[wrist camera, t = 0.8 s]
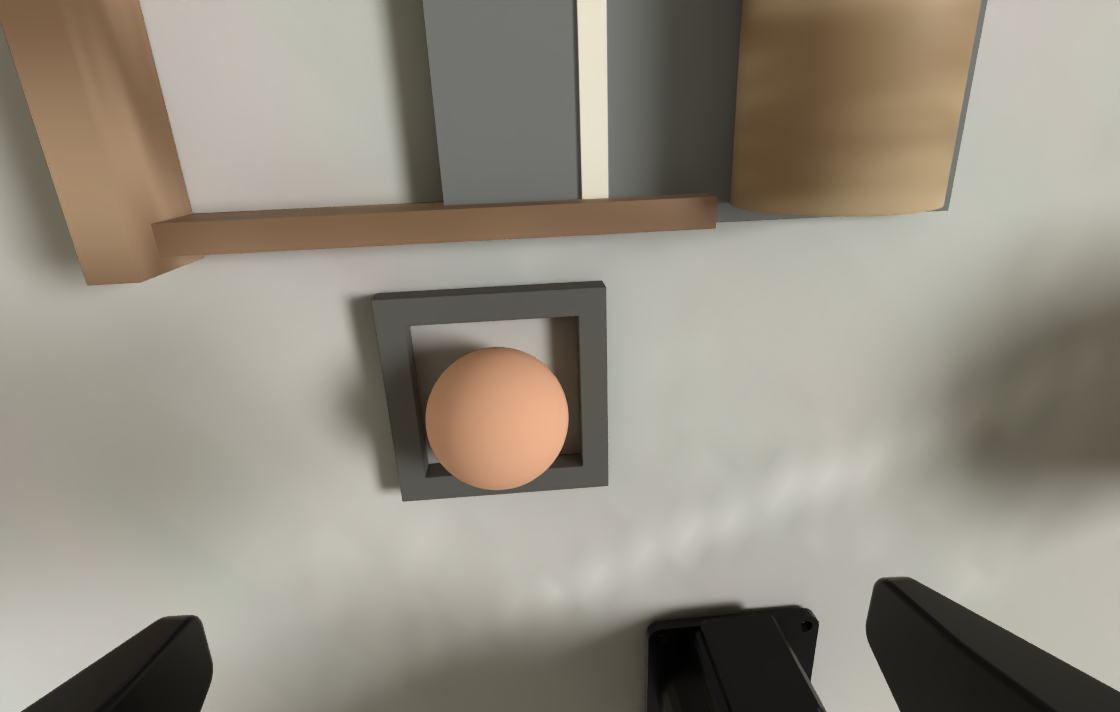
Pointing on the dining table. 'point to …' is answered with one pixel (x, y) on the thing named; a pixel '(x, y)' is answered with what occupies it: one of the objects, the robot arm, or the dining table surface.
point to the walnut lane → (157, 181)
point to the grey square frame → (493, 305)
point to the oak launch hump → (849, 104)
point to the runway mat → (592, 99)
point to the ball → (497, 418)
